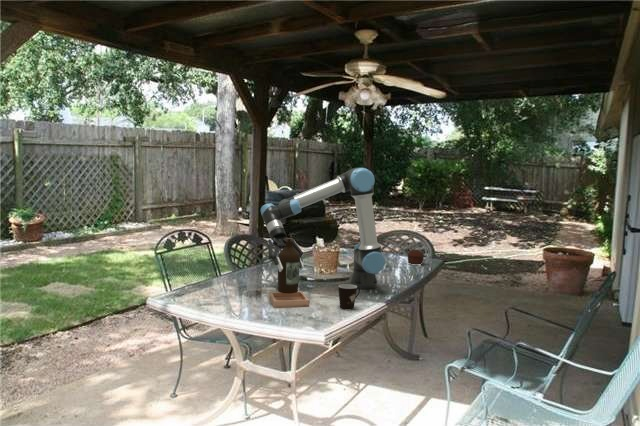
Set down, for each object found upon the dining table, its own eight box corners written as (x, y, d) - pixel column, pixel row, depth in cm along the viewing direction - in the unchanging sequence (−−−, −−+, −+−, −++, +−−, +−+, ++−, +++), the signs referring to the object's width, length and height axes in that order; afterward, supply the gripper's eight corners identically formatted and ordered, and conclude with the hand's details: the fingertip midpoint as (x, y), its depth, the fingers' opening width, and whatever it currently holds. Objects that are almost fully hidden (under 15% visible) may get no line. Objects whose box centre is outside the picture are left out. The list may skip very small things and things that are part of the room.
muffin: (403, 263, 345) (404, 248, 344) (416, 262, 349) (417, 248, 348) (413, 266, 334) (414, 251, 333) (427, 265, 339) (428, 251, 338)
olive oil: (272, 289, 237) (274, 237, 235) (292, 287, 243) (293, 236, 240) (283, 295, 228) (285, 240, 226) (303, 292, 234) (305, 239, 232)
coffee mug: (340, 310, 225) (341, 288, 224) (335, 305, 233) (335, 284, 232) (365, 309, 228) (366, 288, 227) (358, 304, 236) (359, 283, 235)
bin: (302, 297, 246) (302, 291, 245) (309, 306, 230) (309, 300, 230) (269, 298, 242) (269, 292, 242) (274, 307, 226) (274, 301, 226)
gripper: (293, 235, 252) (309, 271, 241) (252, 237, 239) (266, 276, 228) (299, 225, 247) (316, 262, 236) (257, 227, 235) (272, 266, 223)
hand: (291, 269), depth 232 cm, fingers closed on olive oil, 10 cm apart
